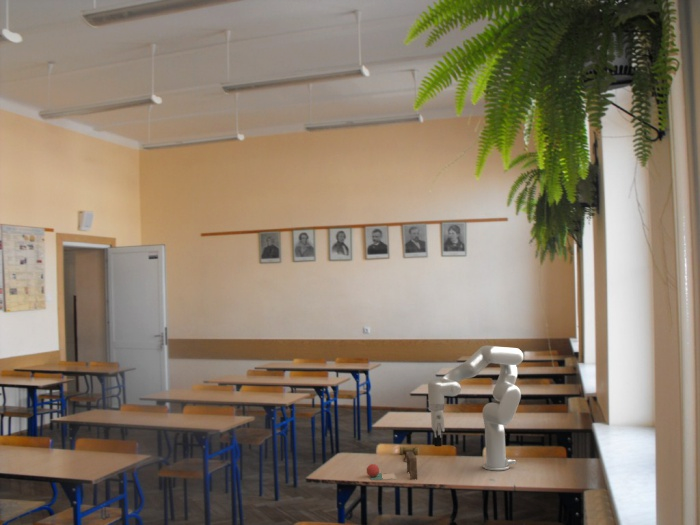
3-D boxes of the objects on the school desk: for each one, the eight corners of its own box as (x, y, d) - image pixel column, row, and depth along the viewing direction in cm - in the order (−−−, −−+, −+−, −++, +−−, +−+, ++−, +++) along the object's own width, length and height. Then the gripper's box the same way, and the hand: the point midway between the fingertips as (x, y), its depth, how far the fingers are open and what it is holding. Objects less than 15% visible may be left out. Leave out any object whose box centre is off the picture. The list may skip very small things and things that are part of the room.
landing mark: (394, 473, 318) (394, 472, 318) (396, 479, 306) (396, 478, 307) (369, 473, 318) (369, 473, 318) (371, 480, 306) (371, 479, 306)
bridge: (413, 471, 320) (412, 451, 321) (417, 479, 305) (416, 458, 306) (407, 471, 320) (406, 451, 321) (410, 479, 305) (410, 458, 306)
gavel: (415, 456, 340) (396, 456, 341) (415, 465, 339) (396, 465, 341) (418, 445, 360) (400, 445, 362) (418, 454, 360) (400, 453, 362)
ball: (369, 477, 315) (380, 472, 315) (369, 480, 309) (381, 475, 309) (364, 465, 315) (375, 460, 316) (365, 468, 309) (376, 463, 310)
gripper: (447, 409, 308) (448, 448, 307) (441, 404, 323) (443, 442, 322) (431, 409, 308) (432, 449, 307) (426, 405, 323) (427, 443, 322)
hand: (438, 445), depth 314 cm, fingers closed
